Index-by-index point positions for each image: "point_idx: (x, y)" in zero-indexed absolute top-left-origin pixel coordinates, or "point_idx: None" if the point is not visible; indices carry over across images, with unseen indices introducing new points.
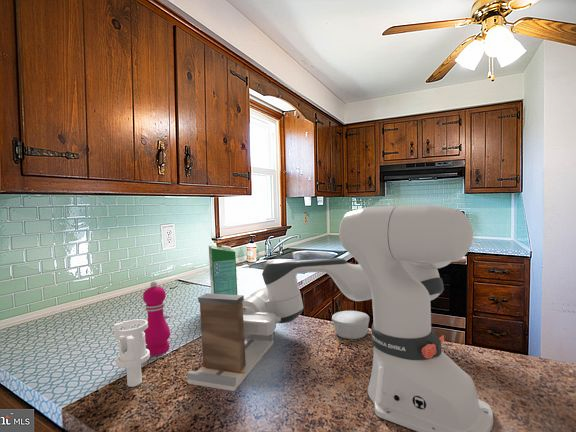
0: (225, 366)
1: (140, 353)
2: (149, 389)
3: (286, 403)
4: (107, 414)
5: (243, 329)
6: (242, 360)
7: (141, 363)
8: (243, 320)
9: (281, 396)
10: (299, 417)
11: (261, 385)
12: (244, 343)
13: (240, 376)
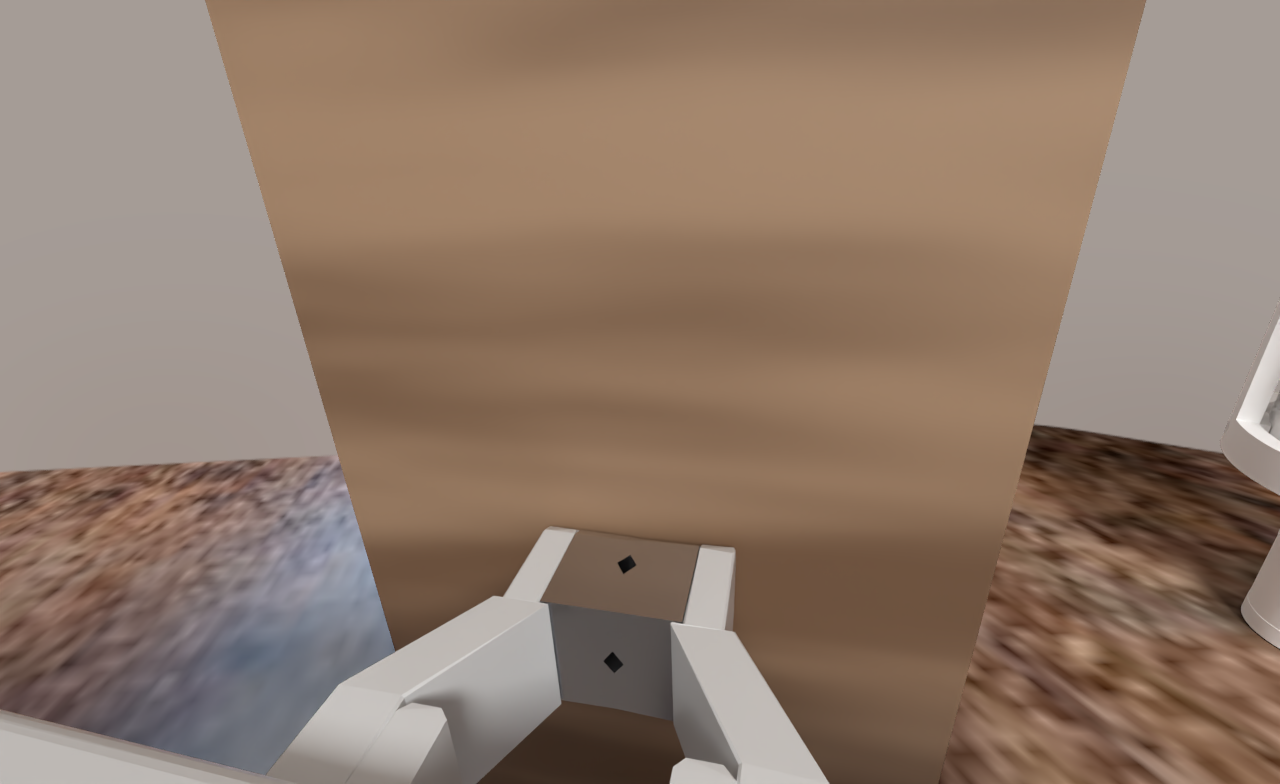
0: None
1: (1252, 377)
2: (1091, 583)
3: (272, 536)
4: (1056, 456)
5: (345, 444)
6: None
7: (1224, 451)
8: (301, 326)
9: (271, 572)
10: (262, 485)
11: (353, 649)
12: (385, 605)
13: None
